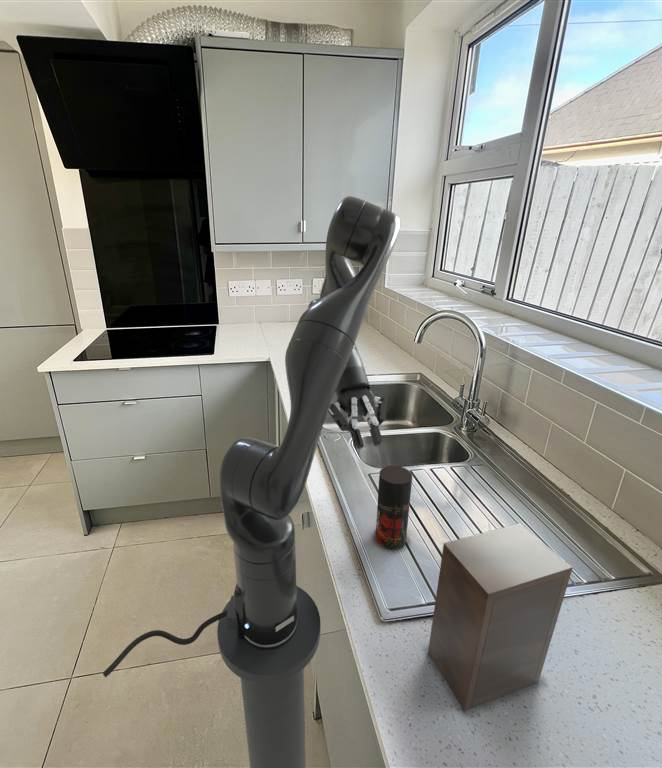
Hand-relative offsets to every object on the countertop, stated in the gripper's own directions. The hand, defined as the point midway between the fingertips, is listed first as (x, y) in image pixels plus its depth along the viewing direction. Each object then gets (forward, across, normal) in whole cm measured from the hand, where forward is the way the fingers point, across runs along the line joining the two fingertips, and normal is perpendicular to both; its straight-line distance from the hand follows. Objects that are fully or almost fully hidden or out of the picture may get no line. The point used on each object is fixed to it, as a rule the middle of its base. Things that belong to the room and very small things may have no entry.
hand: (369, 445), depth 85 cm
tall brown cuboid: (+37, 0, -15) cm, 40 cm away
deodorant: (+19, 0, +3) cm, 19 cm away
